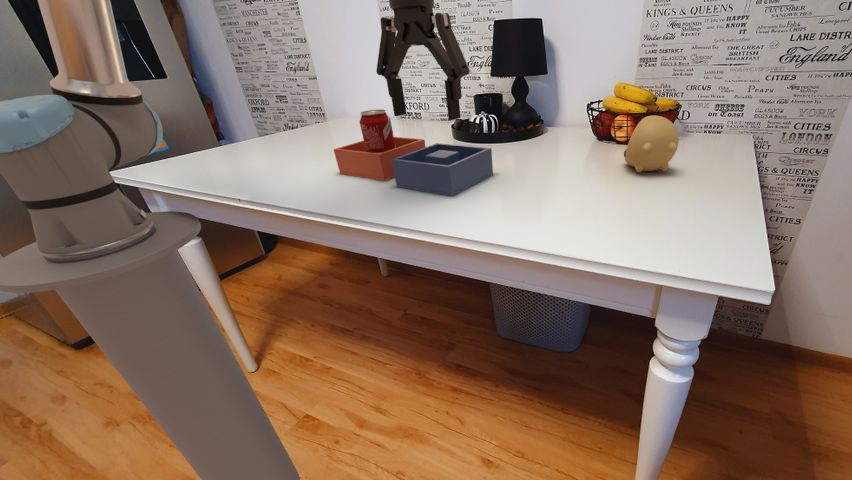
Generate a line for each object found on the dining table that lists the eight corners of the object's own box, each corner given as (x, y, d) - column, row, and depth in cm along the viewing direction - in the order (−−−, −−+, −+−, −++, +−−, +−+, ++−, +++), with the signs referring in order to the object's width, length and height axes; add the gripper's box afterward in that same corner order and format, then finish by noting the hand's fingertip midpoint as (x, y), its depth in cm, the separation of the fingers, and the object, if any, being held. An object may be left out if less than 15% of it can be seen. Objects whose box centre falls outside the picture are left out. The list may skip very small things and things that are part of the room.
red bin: (339, 173, 93) (333, 149, 90) (384, 157, 104) (380, 135, 101) (384, 180, 86) (379, 154, 83) (428, 163, 97) (424, 139, 94)
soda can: (385, 171, 91) (373, 114, 84) (363, 168, 94) (350, 113, 87) (404, 163, 96) (395, 109, 89) (383, 160, 99) (372, 108, 92)
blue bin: (396, 186, 82) (391, 159, 79) (440, 167, 93) (437, 142, 90) (452, 196, 76) (448, 167, 73) (493, 174, 86) (491, 148, 83)
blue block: (428, 179, 83) (424, 155, 81) (443, 173, 87) (440, 149, 84) (447, 182, 81) (444, 157, 78) (461, 175, 85) (459, 151, 82)
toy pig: (665, 184, 85) (658, 141, 88) (691, 151, 74) (682, 103, 77) (619, 185, 85) (614, 142, 88) (638, 152, 74) (631, 104, 77)
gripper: (484, -26, 63) (491, 117, 74) (372, -12, 74) (393, 110, 86) (455, -31, 58) (467, 124, 69) (340, -14, 69) (366, 116, 80)
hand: (426, 117), depth 77 cm, fingers open, 13 cm apart
